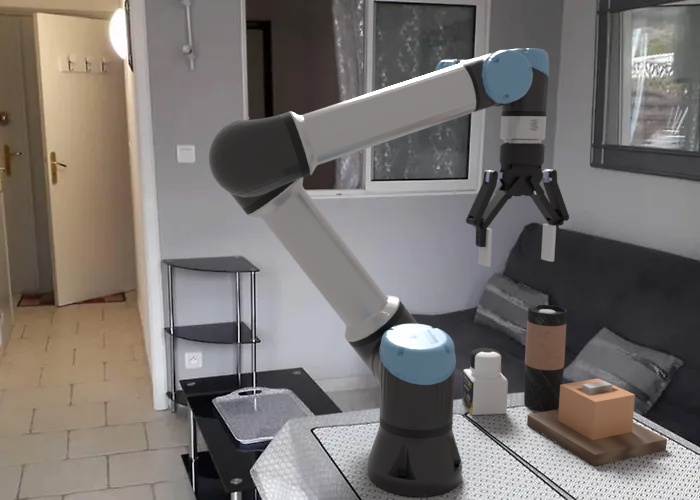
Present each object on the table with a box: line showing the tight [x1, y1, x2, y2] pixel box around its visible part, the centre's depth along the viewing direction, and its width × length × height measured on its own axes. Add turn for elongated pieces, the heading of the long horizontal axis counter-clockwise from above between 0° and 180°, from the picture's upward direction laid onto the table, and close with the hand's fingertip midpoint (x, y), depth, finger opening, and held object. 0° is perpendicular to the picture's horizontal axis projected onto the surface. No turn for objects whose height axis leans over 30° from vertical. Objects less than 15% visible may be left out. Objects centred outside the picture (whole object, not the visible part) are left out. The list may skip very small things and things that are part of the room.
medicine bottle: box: [461, 347, 509, 416], centre depth 140 cm, size 7×7×12 cm
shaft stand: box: [526, 380, 668, 467], centre depth 127 cm, size 16×18×10 cm
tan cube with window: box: [558, 377, 636, 440], centre depth 127 cm, size 9×9×7 cm
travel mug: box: [523, 304, 568, 412], centre depth 141 cm, size 8×8×20 cm
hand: (516, 262), depth 125 cm, fingers open, 13 cm apart
